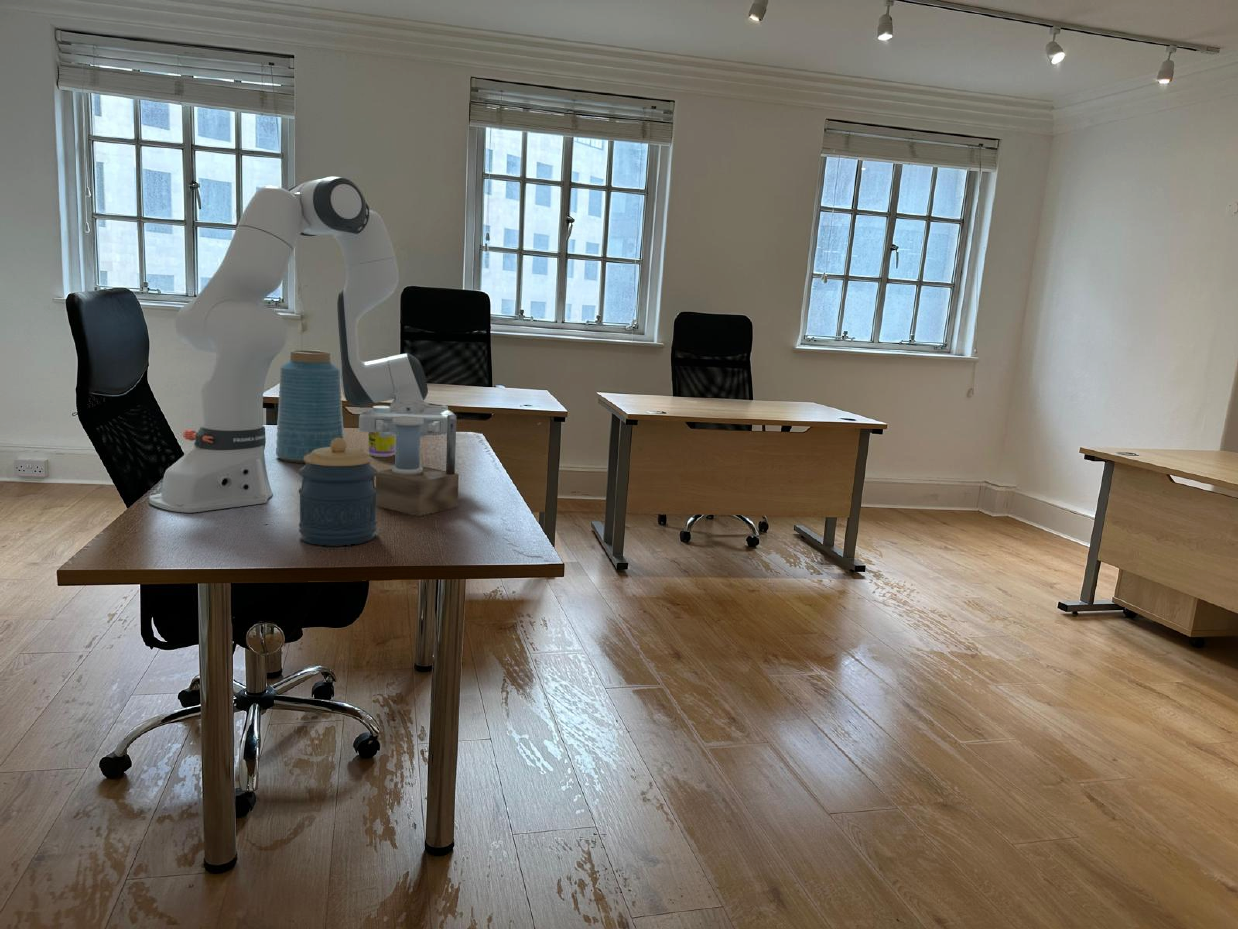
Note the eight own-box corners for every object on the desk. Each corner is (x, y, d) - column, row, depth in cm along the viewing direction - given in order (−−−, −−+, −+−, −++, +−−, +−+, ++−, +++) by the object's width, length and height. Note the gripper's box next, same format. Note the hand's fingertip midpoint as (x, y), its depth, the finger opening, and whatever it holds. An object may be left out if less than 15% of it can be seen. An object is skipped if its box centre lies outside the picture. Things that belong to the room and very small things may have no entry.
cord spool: (407, 476, 167) (408, 421, 165) (385, 471, 170) (386, 417, 168) (428, 472, 172) (429, 419, 170) (407, 467, 175) (408, 415, 173)
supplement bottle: (366, 453, 223) (366, 405, 221) (391, 452, 226) (392, 405, 224) (371, 458, 218) (371, 408, 215) (397, 457, 221) (397, 408, 218)
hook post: (447, 478, 167) (448, 418, 165) (445, 472, 173) (447, 414, 171) (456, 478, 168) (458, 419, 165) (454, 472, 173) (456, 414, 171)
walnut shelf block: (418, 516, 165) (419, 481, 163) (375, 505, 171) (376, 471, 169) (457, 507, 174) (458, 473, 172) (415, 497, 180) (416, 464, 179)
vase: (274, 452, 216) (272, 347, 211) (340, 451, 223) (340, 350, 218) (277, 465, 202) (276, 353, 197) (348, 463, 209) (349, 355, 204)
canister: (333, 523, 156) (333, 429, 153) (391, 534, 152) (393, 437, 149) (282, 539, 144) (280, 438, 141) (343, 552, 140) (344, 447, 137)
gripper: (359, 402, 185) (355, 411, 171) (454, 405, 190) (457, 414, 176) (359, 431, 186) (355, 442, 173) (453, 433, 191) (457, 444, 178)
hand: (408, 428), depth 175 cm, fingers open, 8 cm apart
